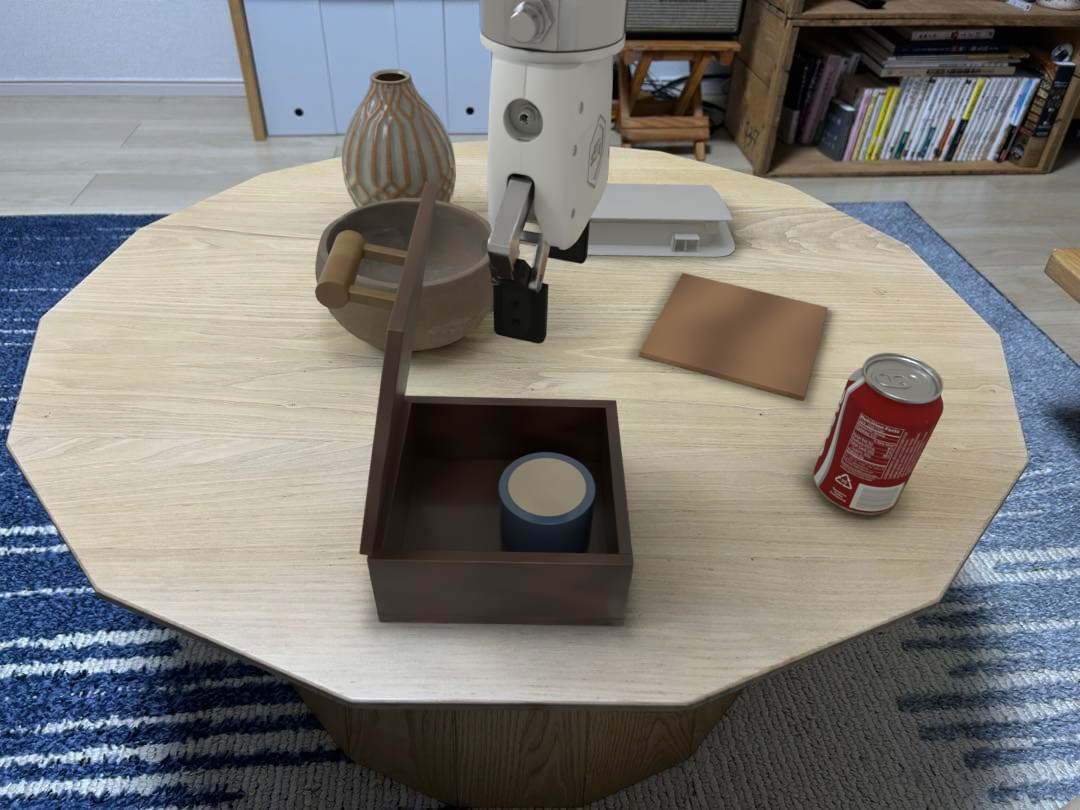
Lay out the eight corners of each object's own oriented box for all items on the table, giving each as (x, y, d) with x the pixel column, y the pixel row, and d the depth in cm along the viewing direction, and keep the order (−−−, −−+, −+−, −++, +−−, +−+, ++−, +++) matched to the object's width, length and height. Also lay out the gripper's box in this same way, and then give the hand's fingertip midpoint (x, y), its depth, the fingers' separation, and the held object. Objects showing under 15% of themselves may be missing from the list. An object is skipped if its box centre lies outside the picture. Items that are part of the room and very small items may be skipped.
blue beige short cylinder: (604, 509, 59) (609, 468, 56) (571, 577, 55) (574, 537, 52) (522, 481, 61) (522, 440, 58) (483, 545, 57) (481, 504, 54)
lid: (438, 182, 48) (354, 164, 47) (404, 332, 36) (291, 311, 35) (405, 391, 60) (338, 379, 59) (371, 556, 48) (286, 544, 47)
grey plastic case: (740, 257, 90) (747, 227, 88) (545, 254, 90) (546, 224, 87) (715, 197, 102) (721, 169, 99) (542, 194, 101) (543, 166, 98)
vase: (344, 203, 98) (322, 60, 86) (446, 192, 101) (437, 52, 89) (358, 255, 88) (335, 101, 77) (469, 240, 91) (463, 91, 80)
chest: (608, 461, 65) (616, 399, 60) (623, 626, 53) (634, 565, 48) (408, 457, 64) (401, 395, 60) (378, 621, 52) (366, 560, 48)
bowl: (536, 317, 80) (538, 231, 73) (411, 402, 69) (400, 311, 63) (420, 260, 88) (412, 177, 81) (292, 328, 77) (272, 240, 71)
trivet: (826, 311, 82) (827, 307, 82) (803, 401, 71) (804, 396, 71) (681, 277, 87) (682, 272, 86) (638, 355, 76) (639, 351, 75)
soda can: (903, 526, 60) (964, 412, 52) (815, 514, 61) (861, 400, 53) (888, 465, 65) (941, 352, 57) (806, 454, 66) (848, 342, 58)
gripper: (580, 74, 32) (562, 388, 43) (657, -21, 44) (627, 242, 56) (414, 52, 33) (438, 361, 45) (534, -34, 46) (529, 225, 57)
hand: (543, 295), depth 50 cm, fingers open, 9 cm apart
